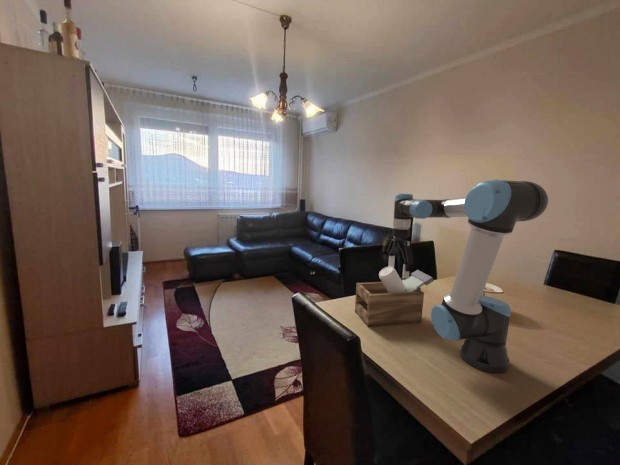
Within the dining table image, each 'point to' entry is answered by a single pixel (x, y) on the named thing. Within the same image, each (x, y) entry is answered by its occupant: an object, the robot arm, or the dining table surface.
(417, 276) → the lid
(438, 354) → the dining table surface
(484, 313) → the robot arm
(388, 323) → the crate
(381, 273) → the beverage can
